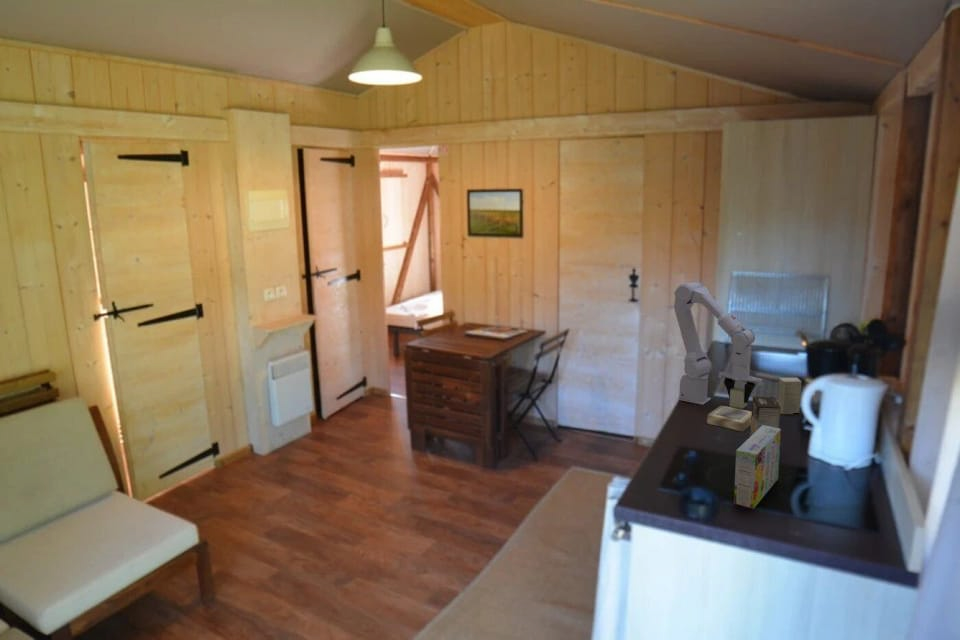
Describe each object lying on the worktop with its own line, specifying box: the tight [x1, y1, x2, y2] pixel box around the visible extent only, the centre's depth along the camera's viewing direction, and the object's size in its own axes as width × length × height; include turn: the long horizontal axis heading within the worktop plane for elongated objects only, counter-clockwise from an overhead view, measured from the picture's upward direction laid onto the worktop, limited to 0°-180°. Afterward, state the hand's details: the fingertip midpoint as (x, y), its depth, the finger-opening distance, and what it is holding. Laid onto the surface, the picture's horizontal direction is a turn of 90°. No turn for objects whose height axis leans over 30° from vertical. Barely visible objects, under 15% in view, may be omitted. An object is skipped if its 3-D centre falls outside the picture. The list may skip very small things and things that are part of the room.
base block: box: [706, 404, 752, 432], centre depth 222 cm, size 12×12×3 cm
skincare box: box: [777, 376, 802, 415], centre depth 229 cm, size 6×4×12 cm
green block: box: [728, 385, 748, 410], centre depth 232 cm, size 5×5×6 cm
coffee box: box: [749, 396, 781, 438], centre depth 197 cm, size 9×6×16 cm
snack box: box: [733, 425, 782, 510], centre depth 173 cm, size 21×6×15 cm, turn 141°
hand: (738, 400), depth 232 cm, fingers closed on green block, 5 cm apart
